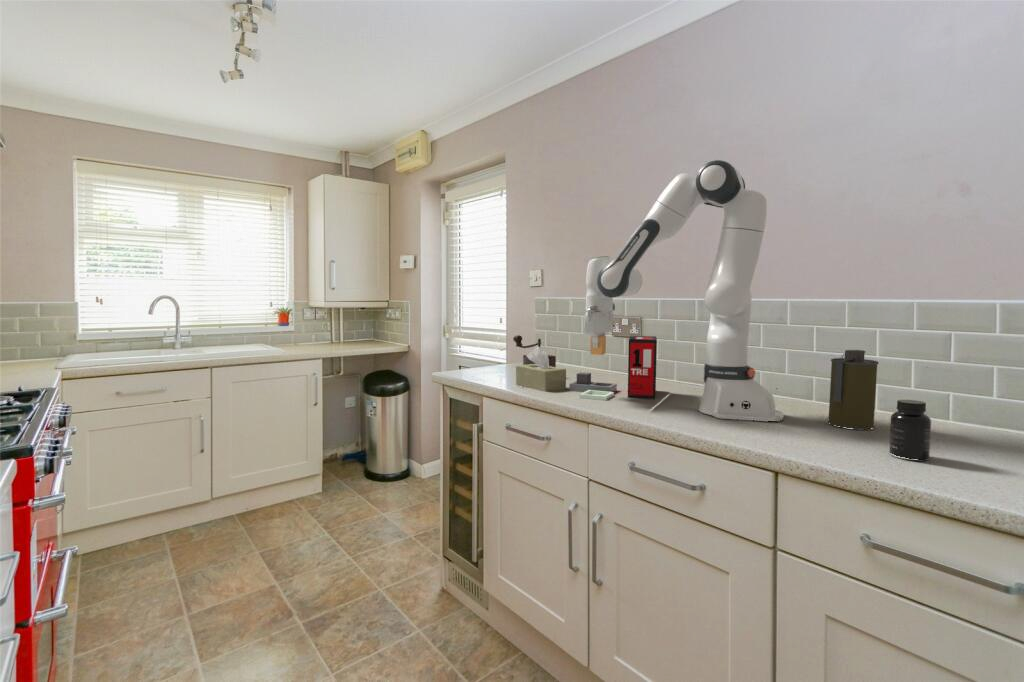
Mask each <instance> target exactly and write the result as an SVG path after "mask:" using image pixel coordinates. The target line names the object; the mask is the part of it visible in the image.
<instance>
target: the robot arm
mask: <svg viewBox="0 0 1024 682" xmlns="http://www.w3.org/2000/svg"><path fill="white" fill-rule="evenodd" d="M745 183H746V182H745V179H744V178H743V177H742V175H741V174H740V172H739V170H738V169H737V168H736V167H734V165H732V164H731V163H729V161H725V160H719V159H717V160H715V159H714V160H712V161H708V162H706V163H705V164H704V165H702V166H701V168H699V170H698V172H697V174H696V175H693V174H691V173H685V172H682V173H679V174H677V175H676V176H675V177H674V178H673V179H672V180H671V181H670V182H669V184H668V185H667V186H666V187H665V188H664V189H663V191H662V192H661V193H660V195H659V196H658V197H657V200H655V202H654V204H653V205H652V207H651V208H650V210H649V212H648V213H647V215H646V216H645V218H644V219H643V220H642V222H641V223H640V224H639V226H638V227H637V228H636V230H635V231H634V232H633V234H632V235H631V236H630V237H629V239H627V242H626V243H625V245H624V246H623V247H622V248H621V250H620V251H619V252H618V254H617V255H616V256H615V257H614V259H613V258H612V257H611V256H605V255H604V256H597V257H593V258H592V259H590V260H589V261H588V264H587V267H586V273H585V274H586V275H585V285H586V294H585V313H584V321H583V322H584V323H583V332H584V335H585V336H590V340H591V339H592V342H593V348H598V347H599V342H598V337H599V336H606V333H610V332H612V330H613V325H614V311H615V310H616V305H615V303H614V302H613V298H617V297H629V296H632V295H634V294H636V293H638V292H639V291H640V289H641V287H642V284H643V277H642V275H641V273H640V271H639V270H638V269H636V268H635V267H636V266H637V265H638V264H639V262H640V260H642V258H643V256H645V254H646V252H648V250H649V249H650V248H652V247H653V246H654V245H656V244H658V243H660V242H663V241H665V240H668V239H671V238H673V237H674V236H676V234H678V232H680V230H681V229H682V228H683V227H684V225H685V224H686V222H687V221H688V219H689V218H690V217H691V215H692V213H693V212H694V211H695V209H697V207H699V205H701V204H704V205H705V206H706V205H708V206H712V207H716V208H721V209H723V211H724V212H723V213H724V215H723V222H722V227H721V232H720V237H719V241H718V247H717V252H716V256H715V258H714V263H713V266H712V269H711V273H710V276H709V280H708V283H707V287H706V291H705V293H704V304H705V307H706V309H707V310H708V311H709V313H710V317H709V323H708V324H709V325H708V331H707V335H706V353H705V354H706V359H705V364H704V368H703V382H704V385H703V393H702V398H701V401H700V405H699V407H698V411H699V412H701V413H703V414H705V415H706V414H707V415H709V416H712V417H715V418H717V419H723V420H737V419H738V420H740V421H753V420H754V421H755V422H768V421H778V422H780V420H781V421H783V420H782V419H784V412H783V411H781V410H779V409H777V408H776V402H775V398H774V396H773V394H772V392H770V390H768V389H767V388H766V387H765V386H763V385H762V384H760V383H759V382H758V381H757V380H756V379H754V378H755V375H756V370H755V369H754V368H753V367H751V366H749V365H748V343H749V342H748V341H749V330H750V320H751V313H752V312H751V311H752V310H751V309H752V293H751V289H750V288H751V285H752V281H753V278H754V275H755V271H756V267H757V264H758V261H759V256H760V253H761V247H762V243H763V238H764V233H765V228H766V222H767V208H768V207H767V204H768V203H767V199H766V196H765V195H764V194H762V193H761V192H759V191H757V190H752V189H746V184H745ZM615 312H616V311H615Z"/></svg>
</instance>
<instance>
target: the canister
mask: <svg viewBox="0 0 1024 682" xmlns="http://www.w3.org/2000/svg"><path fill="white" fill-rule="evenodd" d="M865 353H866V350H861V349H845V350H844V353H843V355H842V356H841V357H837V358H835V357H834V358H831V359H830V361H831V368H830V369H831V370H830V385H829V388H830V389H829V401H828V402H829V403H828V404H829V406H828V420H827V424H828V423H830V424H832V425H836V426H840V427H846V428H853V429H871V428H874V427H875V413H876V412H875V409H876V393H877V392H876V391H877V377H878V365H879V363H880V362H879V361H877V360H874V359H865ZM830 424H829V425H830ZM832 425H831V426H832ZM875 428H876V427H875ZM875 428H874V429H875Z"/></svg>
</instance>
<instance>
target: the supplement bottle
mask: <svg viewBox="0 0 1024 682" xmlns="http://www.w3.org/2000/svg"><path fill="white" fill-rule="evenodd" d="M926 405H927V403H926V402H925V401H922V400H914V399H898V400H897V401H896V410H897V411H895V412H894V413H892V414H891V416H890V428H889V429H890V430H889V445H888V446H889V454H890V453H892V454H894V455H896V456H900V457H905V458H909V459H918V460H926V459H928V460H929V459H930V456H931V455H930V454H931V433H932V419H931V418H930V417H929V416H928V415H927V414H925V413H926V412H927V408H926ZM926 461H927V460H926Z"/></svg>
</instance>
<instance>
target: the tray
mask: <svg viewBox="0 0 1024 682" xmlns="http://www.w3.org/2000/svg"><path fill="white" fill-rule="evenodd" d="M614 396H615V392H607V391H596V390H587V391H585V392H581V393H579V399H586V400H598V401H607V400H609V399H611V398H614Z"/></svg>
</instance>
